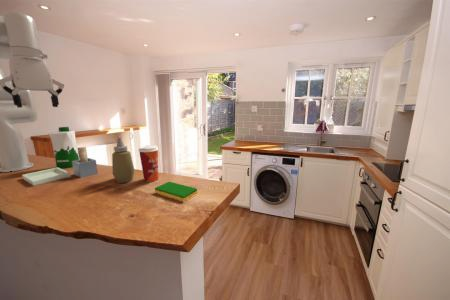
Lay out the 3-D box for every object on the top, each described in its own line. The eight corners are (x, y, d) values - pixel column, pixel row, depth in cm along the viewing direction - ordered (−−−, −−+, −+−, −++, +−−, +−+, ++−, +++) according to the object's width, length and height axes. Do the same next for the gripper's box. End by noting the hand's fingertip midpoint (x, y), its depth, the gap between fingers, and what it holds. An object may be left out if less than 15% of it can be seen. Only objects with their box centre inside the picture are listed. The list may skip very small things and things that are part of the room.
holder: (74, 176, 88) (71, 161, 86) (91, 172, 93) (88, 157, 92) (81, 179, 84) (78, 163, 83) (98, 175, 90) (95, 160, 88)
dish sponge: (169, 187, 77) (169, 181, 77) (197, 194, 70) (197, 188, 70) (154, 194, 71) (154, 187, 71) (184, 203, 64) (183, 196, 64)
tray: (23, 180, 84) (22, 174, 83) (58, 172, 93) (57, 167, 93) (34, 188, 76) (32, 181, 75) (71, 178, 86) (70, 172, 85)
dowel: (80, 174, 88) (76, 147, 85) (88, 172, 91) (84, 146, 88) (83, 175, 87) (79, 148, 84) (91, 173, 89) (87, 147, 86)
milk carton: (82, 164, 107) (76, 126, 102) (74, 169, 98) (66, 128, 94) (63, 165, 105) (56, 127, 100) (53, 170, 96) (44, 129, 92)
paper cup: (154, 183, 80) (151, 149, 77) (137, 182, 81) (133, 148, 78) (164, 176, 87) (162, 145, 84) (148, 175, 89) (145, 144, 85)
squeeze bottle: (110, 180, 83) (104, 137, 79) (130, 175, 88) (125, 135, 84) (118, 186, 77) (112, 140, 73) (138, 180, 83) (134, 137, 79)
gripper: (55, 61, 77) (64, 106, 80) (-14, 51, 63) (0, 107, 67) (62, 58, 73) (71, 106, 76) (-10, 48, 59) (5, 107, 62)
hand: (38, 107), depth 71 cm, fingers open, 9 cm apart
